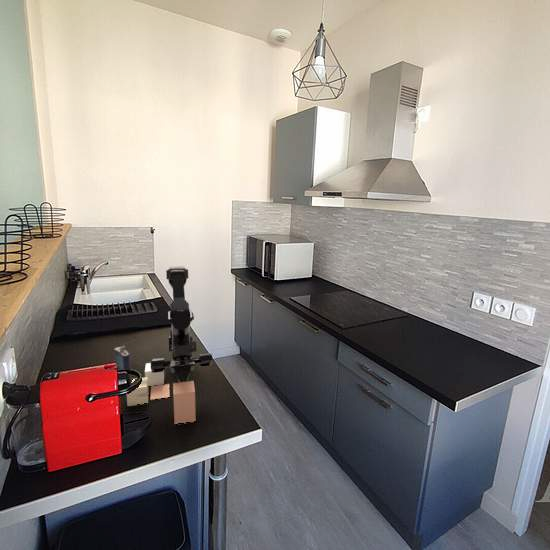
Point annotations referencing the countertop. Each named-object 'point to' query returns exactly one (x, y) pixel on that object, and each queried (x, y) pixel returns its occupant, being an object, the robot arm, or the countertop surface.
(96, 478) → the countertop surface
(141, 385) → the birch block
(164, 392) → the colour card
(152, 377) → the white block
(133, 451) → the countertop surface
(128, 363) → the flask
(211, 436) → the countertop surface
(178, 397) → the terracotta block
